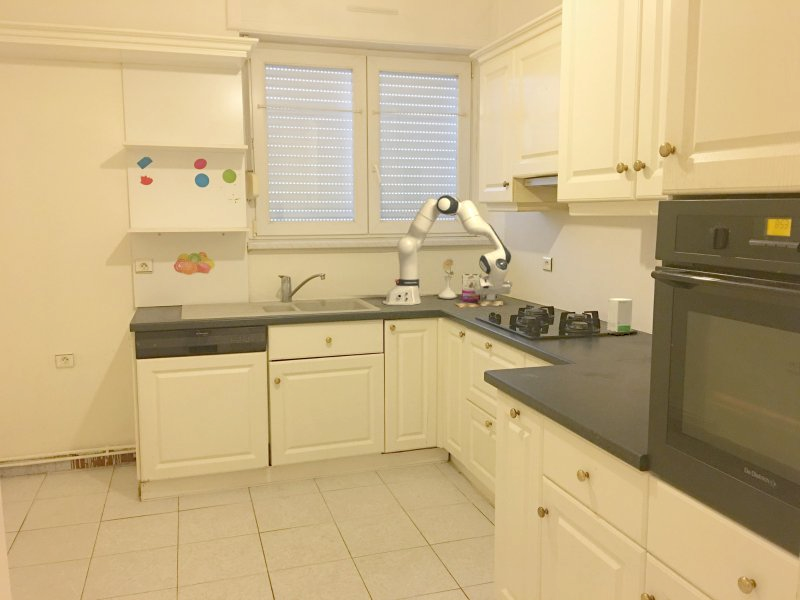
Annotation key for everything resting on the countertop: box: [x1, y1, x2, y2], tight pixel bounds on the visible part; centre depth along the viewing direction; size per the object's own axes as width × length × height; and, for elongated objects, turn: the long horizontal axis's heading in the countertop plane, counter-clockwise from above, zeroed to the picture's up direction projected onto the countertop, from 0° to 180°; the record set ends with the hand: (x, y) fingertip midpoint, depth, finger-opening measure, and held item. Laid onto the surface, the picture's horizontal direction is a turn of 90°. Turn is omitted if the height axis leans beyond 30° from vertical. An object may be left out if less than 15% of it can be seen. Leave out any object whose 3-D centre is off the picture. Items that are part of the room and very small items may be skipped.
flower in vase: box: [438, 258, 458, 300], centre depth 408 cm, size 13×11×25 cm
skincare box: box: [606, 297, 633, 332], centre depth 289 cm, size 8×7×16 cm
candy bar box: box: [461, 273, 483, 302], centre depth 399 cm, size 11×5×16 cm, turn 73°
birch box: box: [477, 299, 504, 307], centre depth 382 cm, size 13×7×2 cm, turn 98°
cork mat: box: [454, 302, 481, 308], centre depth 379 cm, size 12×12×1 cm
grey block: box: [484, 294, 496, 301], centre depth 382 cm, size 5×2×8 cm, turn 99°
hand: (490, 297), depth 383 cm, fingers closed on grey block, 5 cm apart
